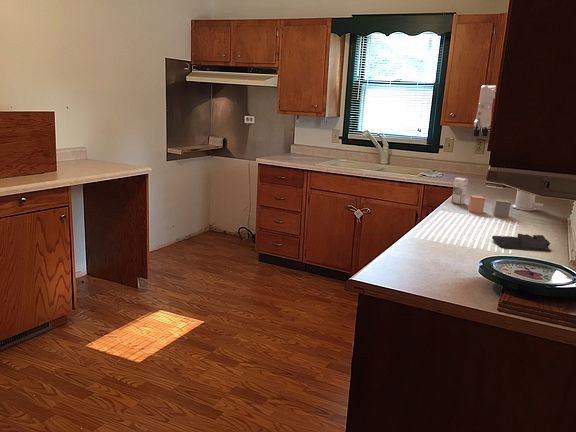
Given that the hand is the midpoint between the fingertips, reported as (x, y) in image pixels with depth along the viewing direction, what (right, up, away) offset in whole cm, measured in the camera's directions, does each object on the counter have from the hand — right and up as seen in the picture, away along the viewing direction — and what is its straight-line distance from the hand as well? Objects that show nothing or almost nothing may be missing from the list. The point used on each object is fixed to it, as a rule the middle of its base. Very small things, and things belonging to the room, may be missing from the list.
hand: (480, 136), depth 299 cm
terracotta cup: (-15, -45, -31) cm, 56 cm away
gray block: (-4, -47, -37) cm, 61 cm away
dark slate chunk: (-18, -61, -90) cm, 110 cm away
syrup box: (-17, -40, -12) cm, 46 cm away
